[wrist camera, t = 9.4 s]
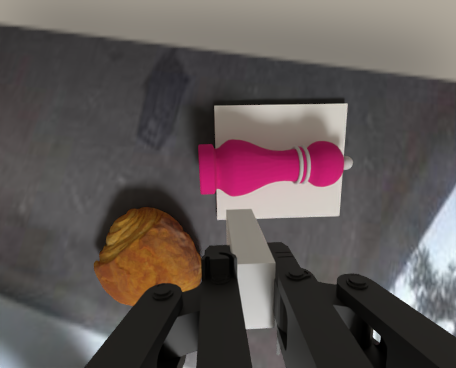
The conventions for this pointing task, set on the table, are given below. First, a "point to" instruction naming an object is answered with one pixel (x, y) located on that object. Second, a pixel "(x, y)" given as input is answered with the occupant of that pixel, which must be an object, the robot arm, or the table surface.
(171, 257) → the croissant
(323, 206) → the white mat
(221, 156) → the pepper mill
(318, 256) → the table surface
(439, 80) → the table surface
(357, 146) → the table surface
